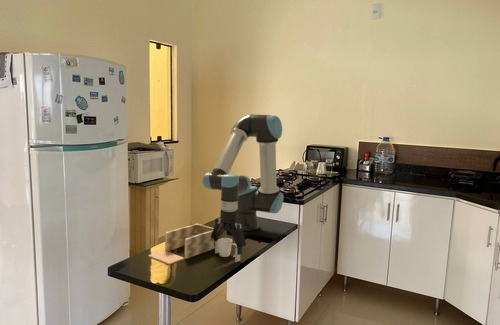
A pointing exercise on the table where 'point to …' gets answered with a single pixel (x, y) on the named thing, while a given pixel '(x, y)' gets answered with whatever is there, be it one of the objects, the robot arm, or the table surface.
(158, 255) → the tailgate
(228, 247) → the cup
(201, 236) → the box
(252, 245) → the table surface
